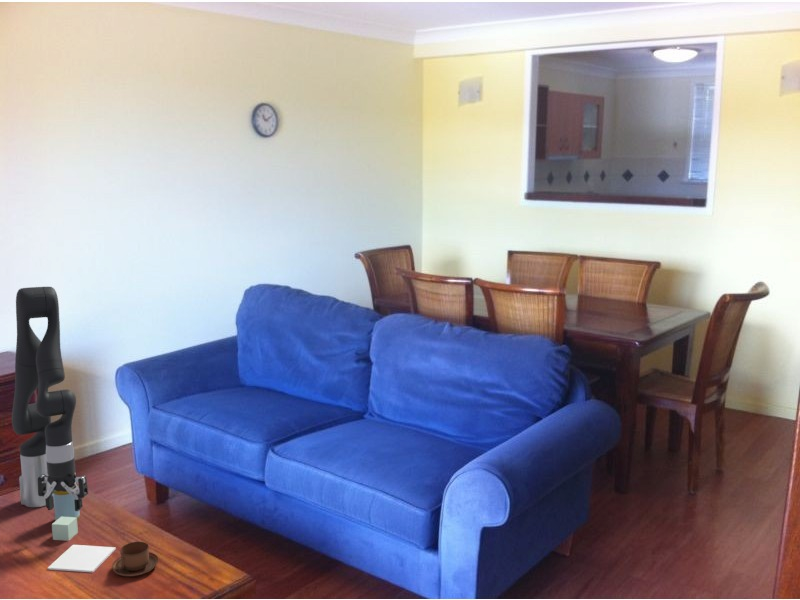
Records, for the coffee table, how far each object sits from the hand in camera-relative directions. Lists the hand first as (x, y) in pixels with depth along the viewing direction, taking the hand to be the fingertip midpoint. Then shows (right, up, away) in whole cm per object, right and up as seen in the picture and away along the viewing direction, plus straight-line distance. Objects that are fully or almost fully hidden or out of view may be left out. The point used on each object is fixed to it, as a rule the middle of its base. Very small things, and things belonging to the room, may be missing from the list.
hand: (64, 509), depth 224 cm
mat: (+10, -11, -11) cm, 19 cm away
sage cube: (0, -8, +2) cm, 9 cm away
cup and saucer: (+27, -12, -16) cm, 33 cm away
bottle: (-4, -7, +12) cm, 14 cm away
